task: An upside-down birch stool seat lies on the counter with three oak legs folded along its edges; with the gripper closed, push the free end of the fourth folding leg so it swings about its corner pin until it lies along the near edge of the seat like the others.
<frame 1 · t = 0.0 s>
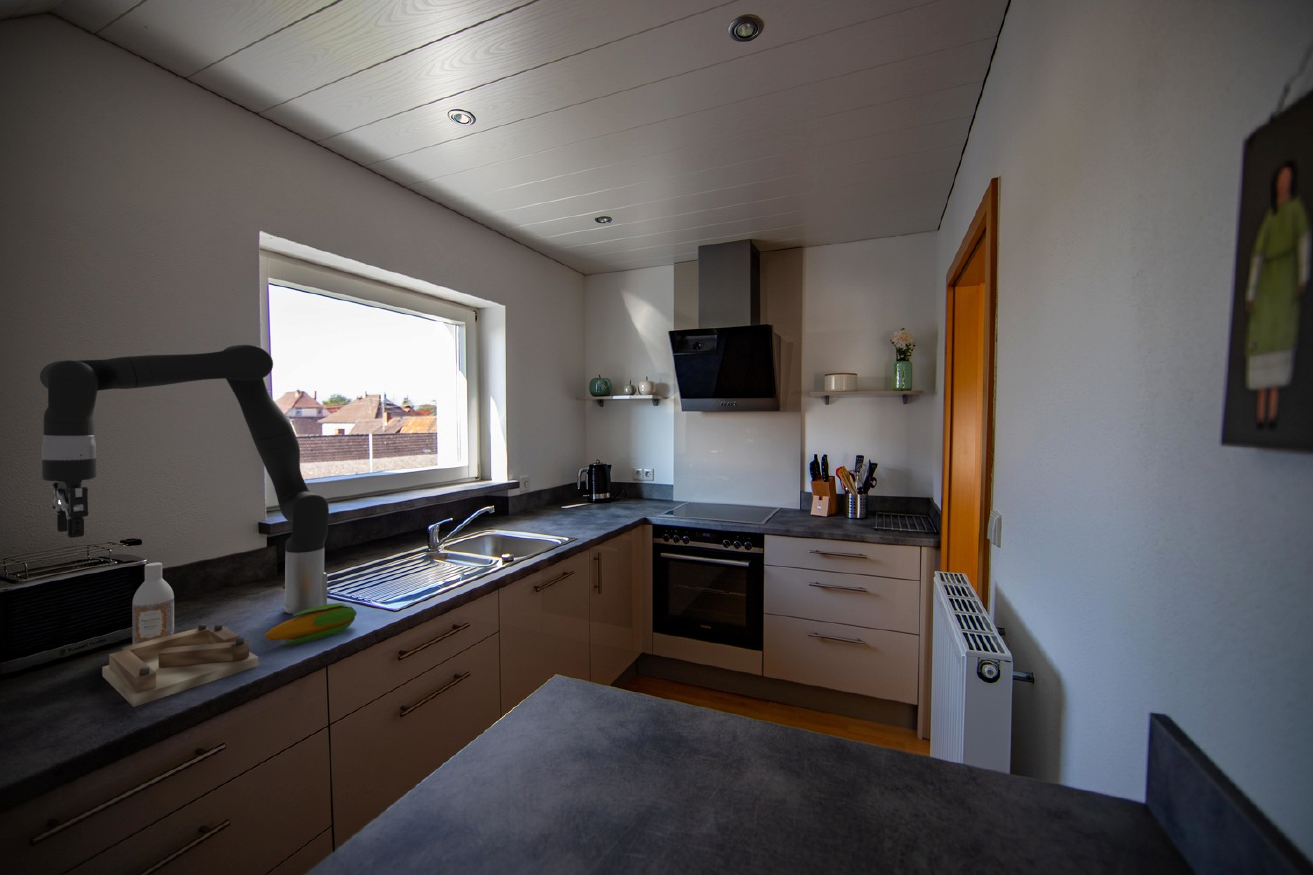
hand: (70, 533, 109), 29 cm above the table, tool pointing down, fingers open, 8 cm apart
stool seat: (182, 670, 112), on the table
bath foam: (153, 649, 121), on the table
folding leg: (206, 650, 112), point 4 cm above the table, hinge at -40.0°
corn: (313, 638, 130), on the table
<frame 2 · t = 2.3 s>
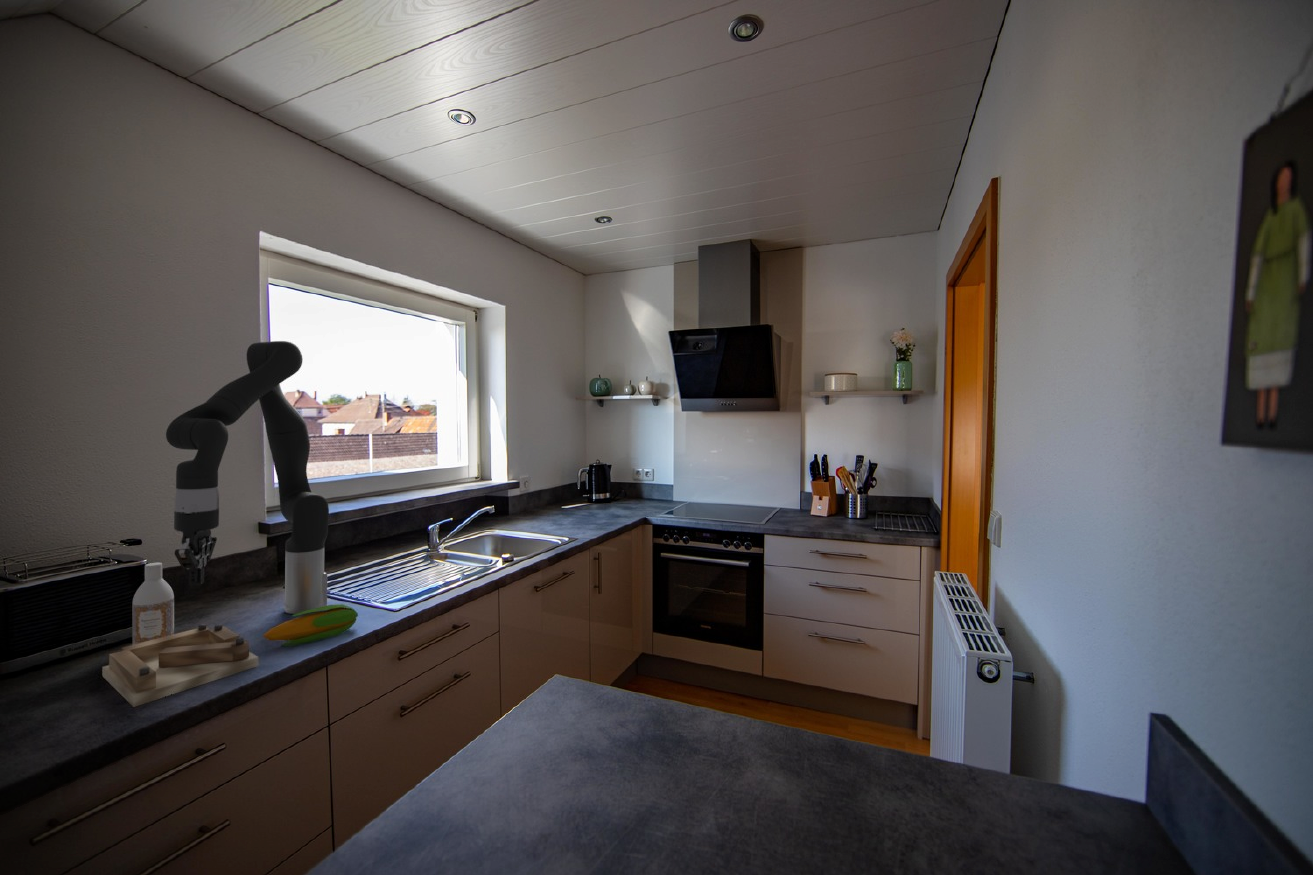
hand: (196, 584, 117), 17 cm above the table, tool pointing down, fingers closed
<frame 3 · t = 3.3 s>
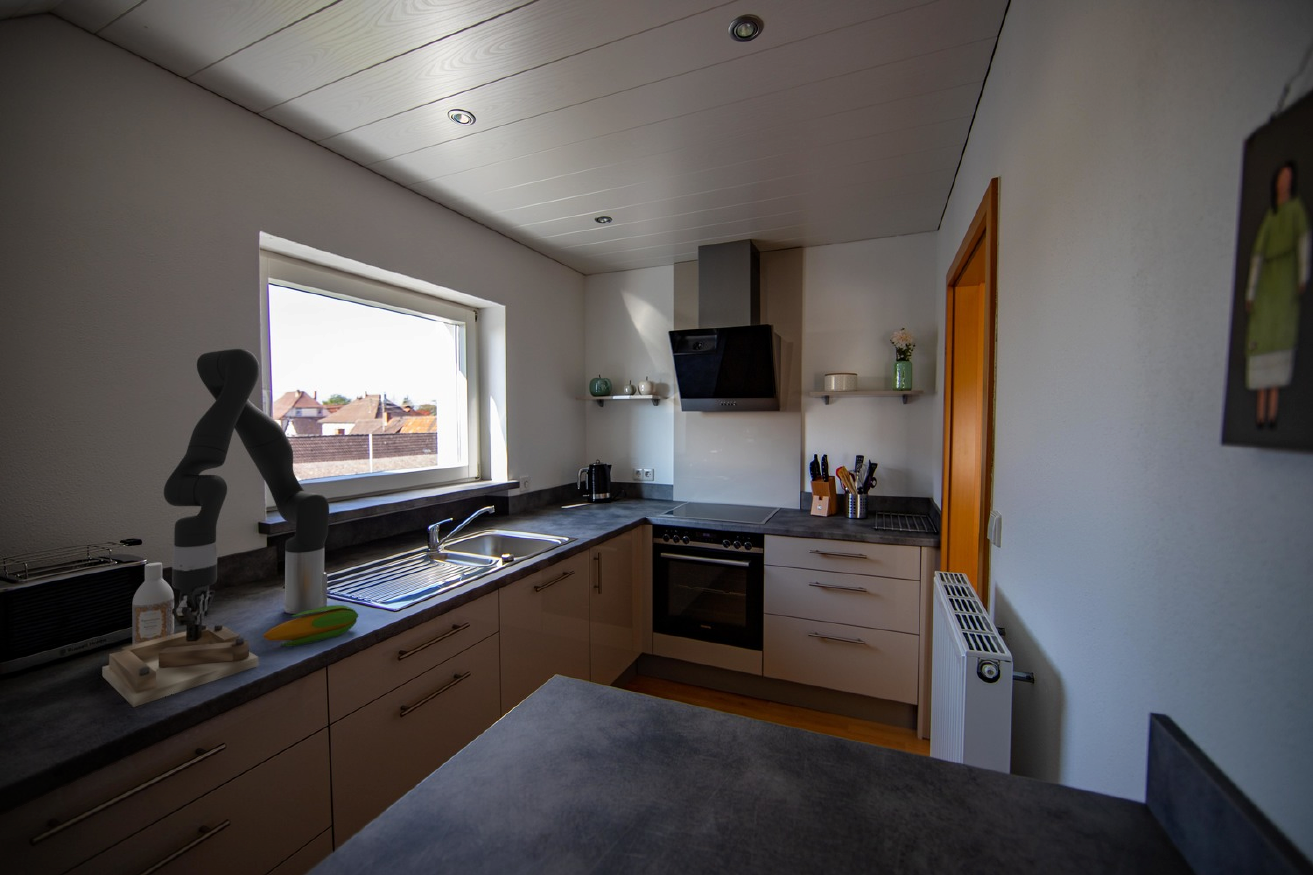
hand: (193, 640, 117), 4 cm above the table, tool pointing down, fingers closed
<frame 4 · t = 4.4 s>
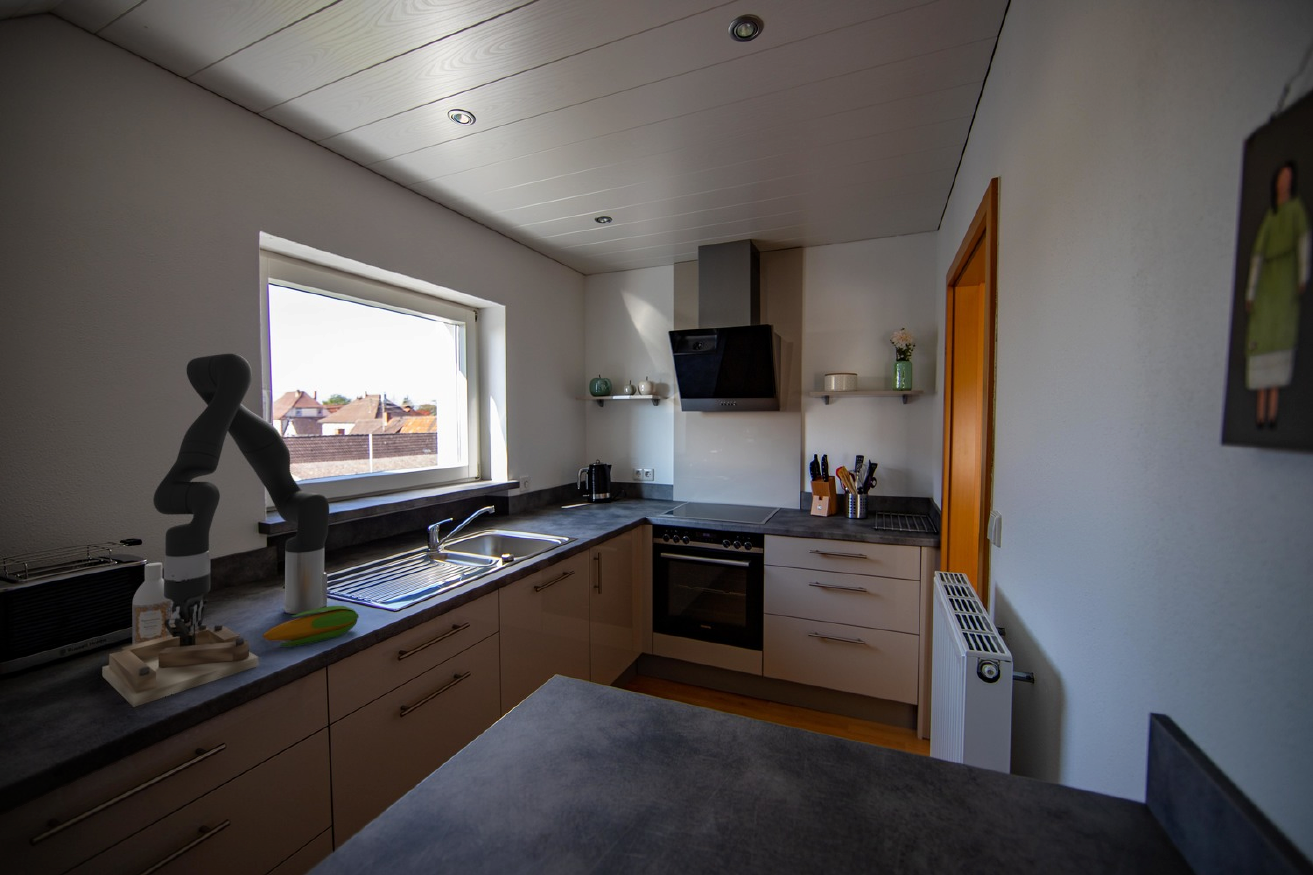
hand: (187, 651, 114), 3 cm above the table, tool pointing down, fingers closed
folding leg: (206, 650, 112), point 4 cm above the table, hinge at -39.9°, touching gripper
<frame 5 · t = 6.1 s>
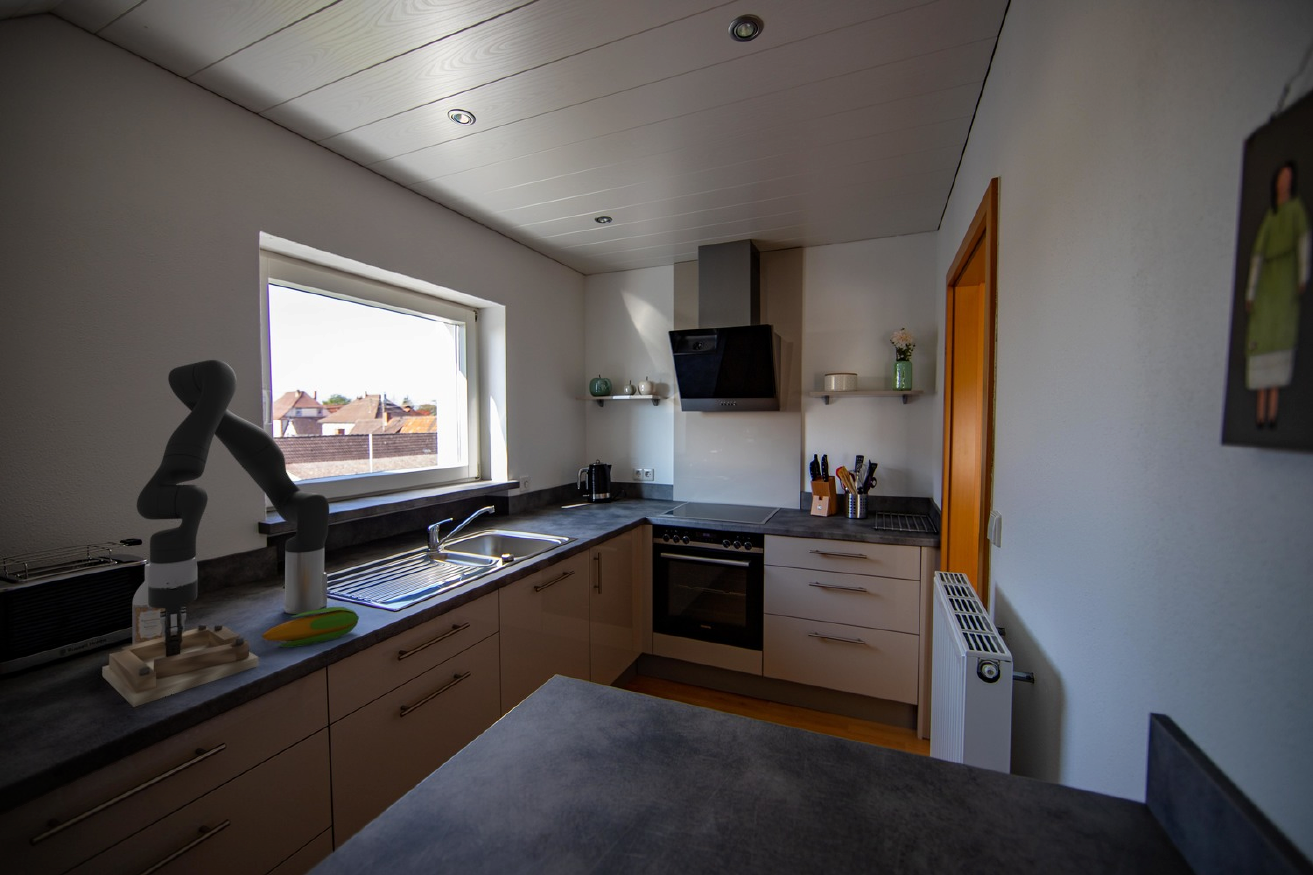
hand: (173, 660, 109), 3 cm above the table, tool pointing down, fingers closed
folding leg: (203, 655, 110), point 4 cm above the table, hinge at -15.3°, touching gripper
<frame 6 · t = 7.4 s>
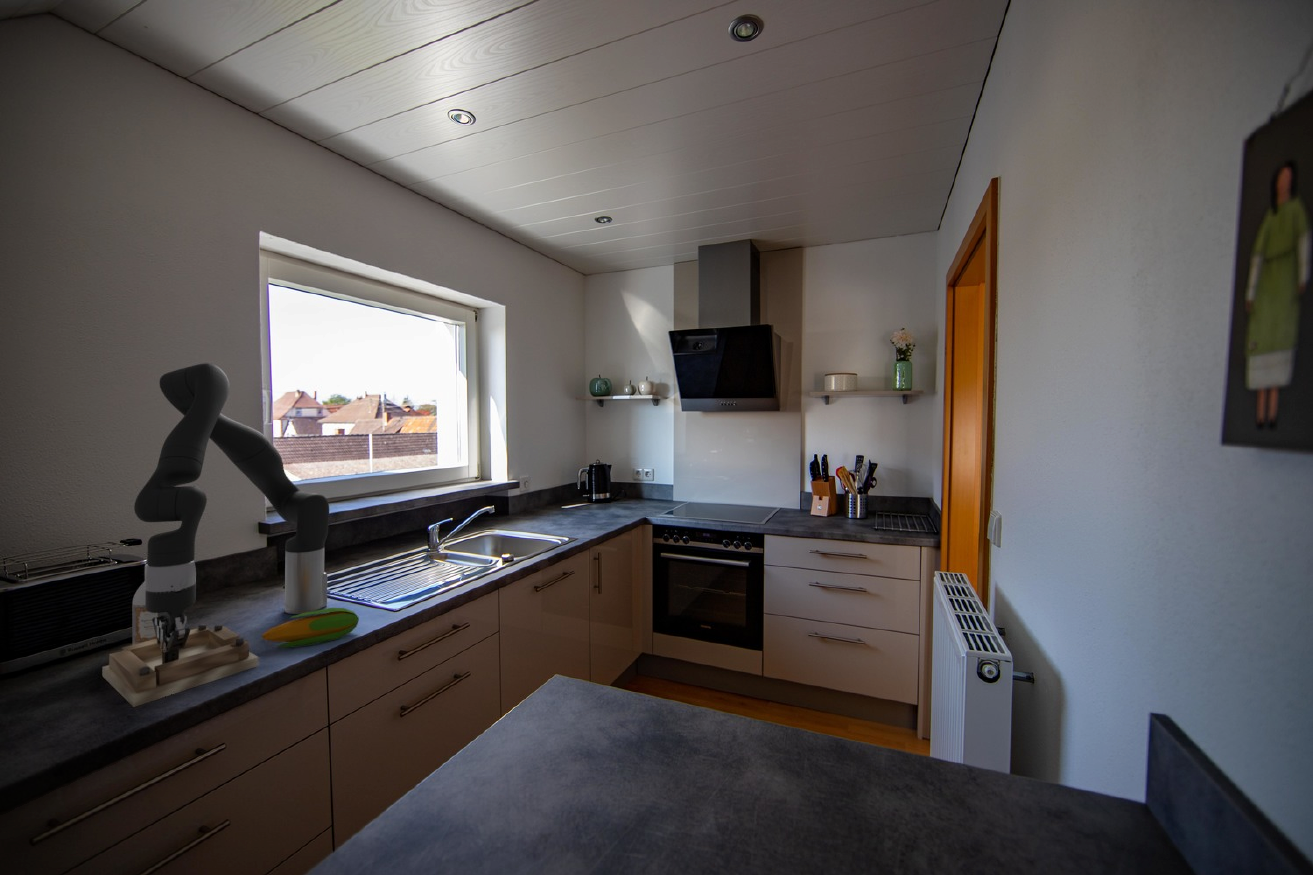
hand: (170, 667, 107), 3 cm above the table, tool pointing down, fingers closed
folding leg: (205, 658, 109), point 4 cm above the table, hinge at 0.7°, touching gripper
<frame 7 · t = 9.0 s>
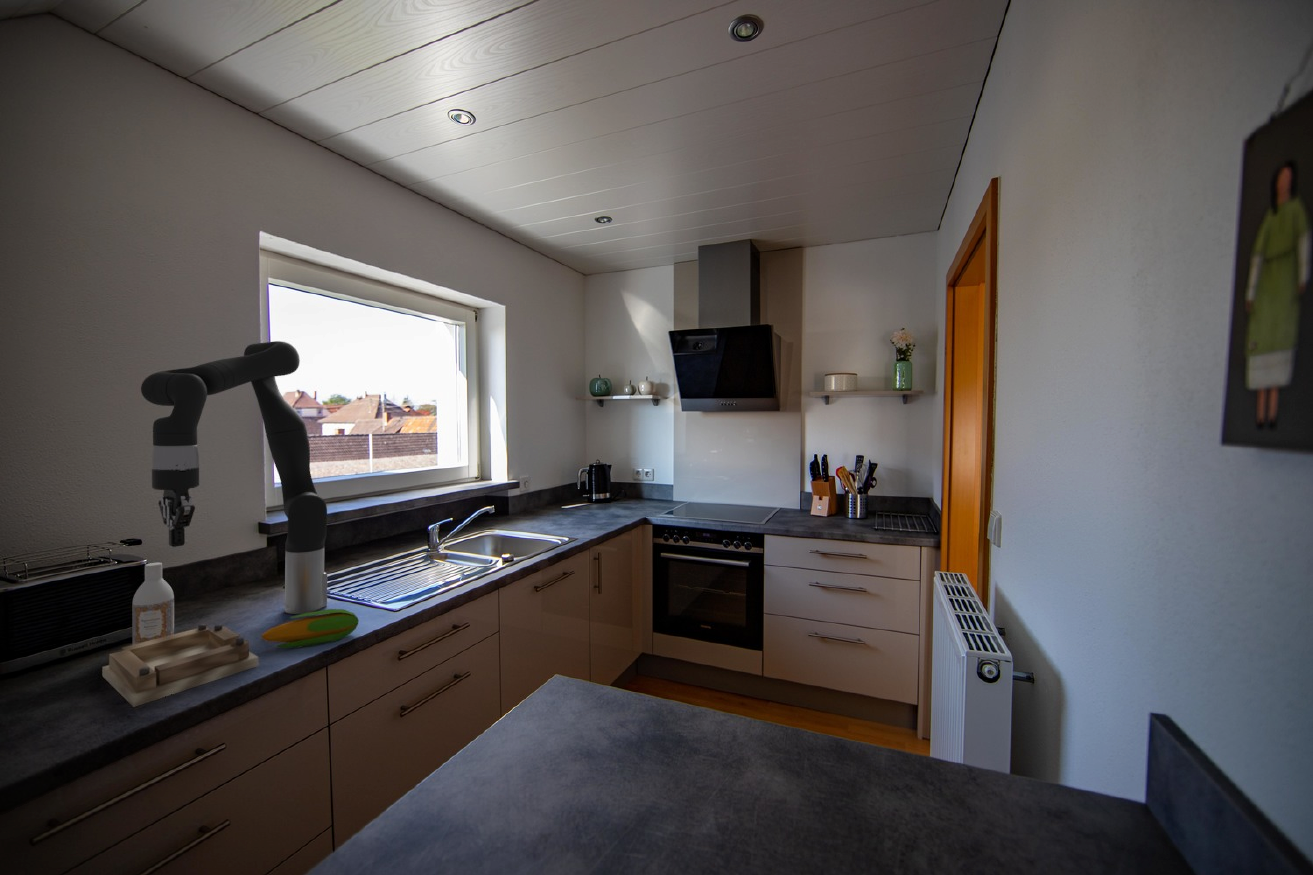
hand: (176, 545, 113), 27 cm above the table, tool pointing down, fingers closed
folding leg: (205, 658, 109), point 4 cm above the table, hinge at 0.7°
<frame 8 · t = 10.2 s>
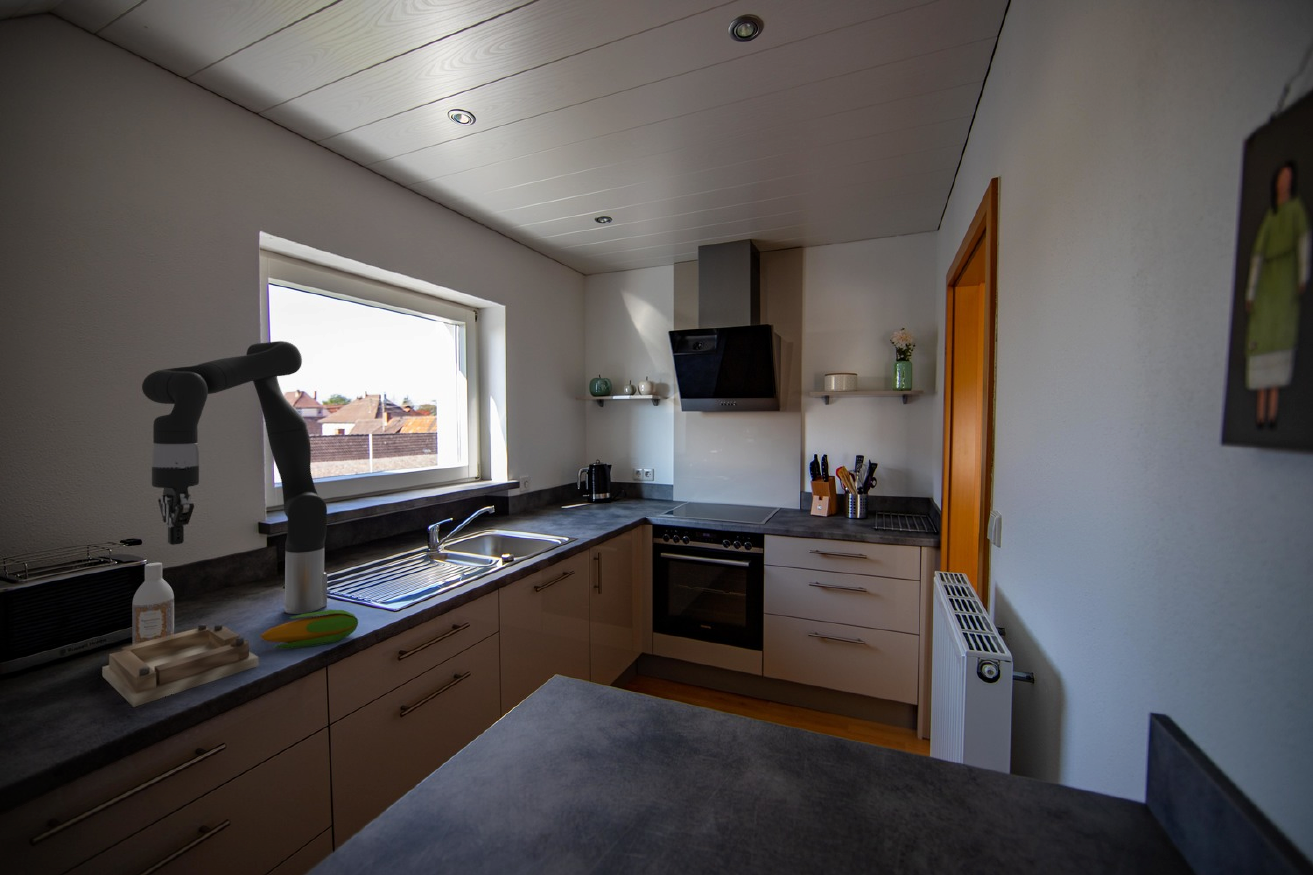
hand: (175, 543, 113), 27 cm above the table, tool pointing down, fingers closed
at the end: folding leg at +1° (first picture: -40°) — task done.
